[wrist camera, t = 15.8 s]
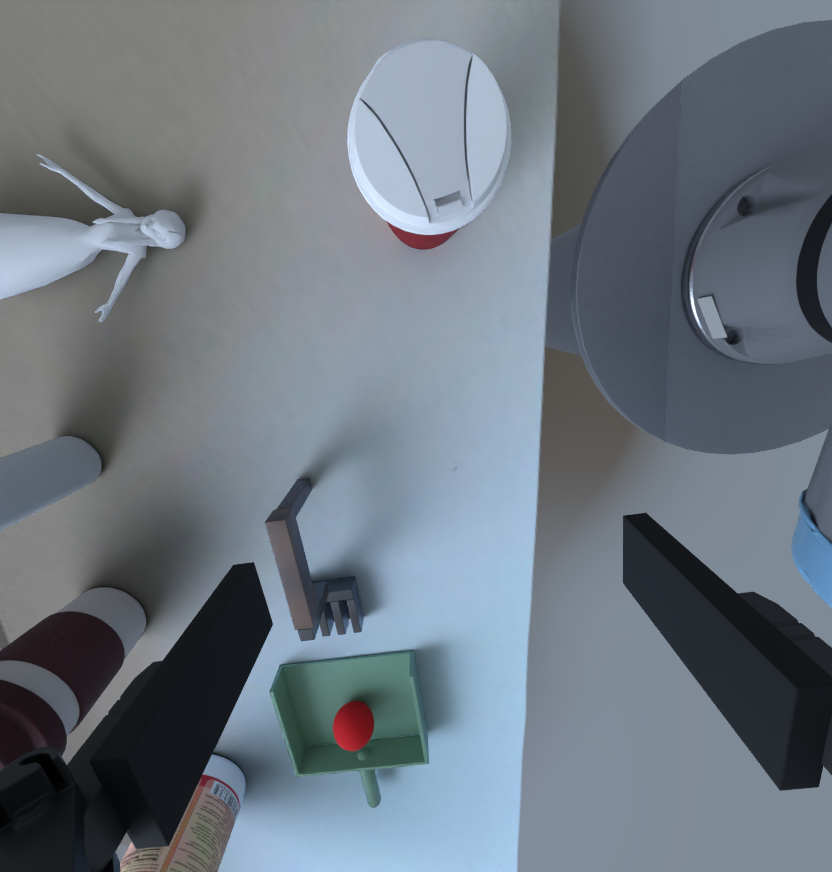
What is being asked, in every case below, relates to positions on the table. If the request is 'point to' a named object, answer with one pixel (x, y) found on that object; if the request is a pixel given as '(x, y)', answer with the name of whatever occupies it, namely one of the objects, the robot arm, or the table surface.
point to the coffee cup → (63, 669)
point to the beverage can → (44, 476)
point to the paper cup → (429, 139)
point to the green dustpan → (337, 685)
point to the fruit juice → (198, 825)
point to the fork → (300, 591)
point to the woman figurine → (78, 243)
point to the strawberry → (353, 725)
